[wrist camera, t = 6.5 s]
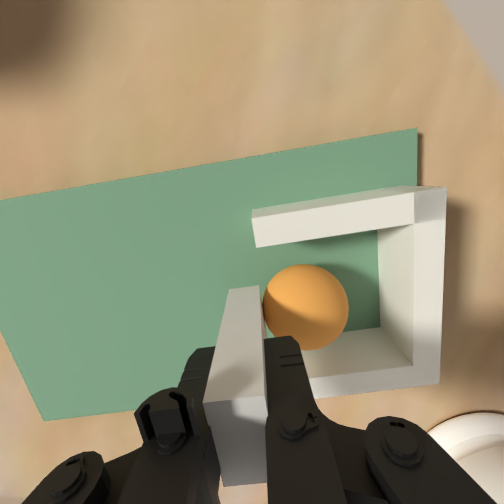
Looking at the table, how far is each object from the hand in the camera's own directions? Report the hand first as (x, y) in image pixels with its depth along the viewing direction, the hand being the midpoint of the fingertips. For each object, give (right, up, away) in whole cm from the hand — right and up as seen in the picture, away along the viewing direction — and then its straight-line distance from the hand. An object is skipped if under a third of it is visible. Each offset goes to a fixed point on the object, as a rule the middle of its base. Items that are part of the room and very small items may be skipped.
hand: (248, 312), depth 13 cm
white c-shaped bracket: (+5, +1, +2) cm, 5 cm away
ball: (+3, 0, 0) cm, 3 cm away
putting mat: (-3, 0, +3) cm, 4 cm away
